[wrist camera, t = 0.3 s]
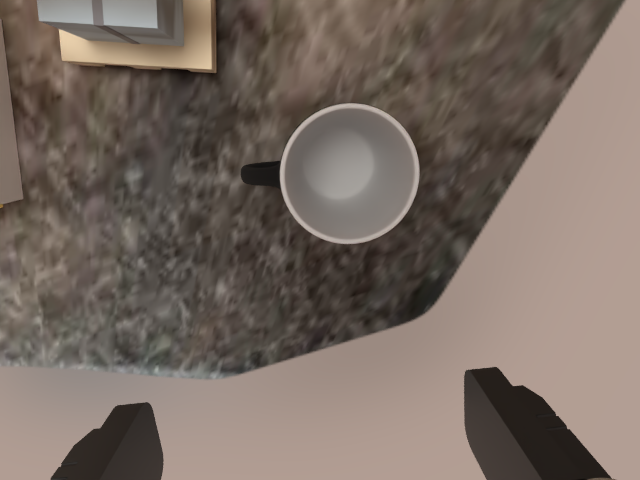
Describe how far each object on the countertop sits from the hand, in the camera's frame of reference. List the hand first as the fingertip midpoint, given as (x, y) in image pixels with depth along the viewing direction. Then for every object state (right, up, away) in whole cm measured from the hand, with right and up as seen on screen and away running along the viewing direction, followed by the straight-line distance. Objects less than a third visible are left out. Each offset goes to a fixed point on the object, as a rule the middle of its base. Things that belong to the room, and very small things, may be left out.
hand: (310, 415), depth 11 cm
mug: (0, +11, +26) cm, 28 cm away
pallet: (-13, +22, +23) cm, 34 cm away
